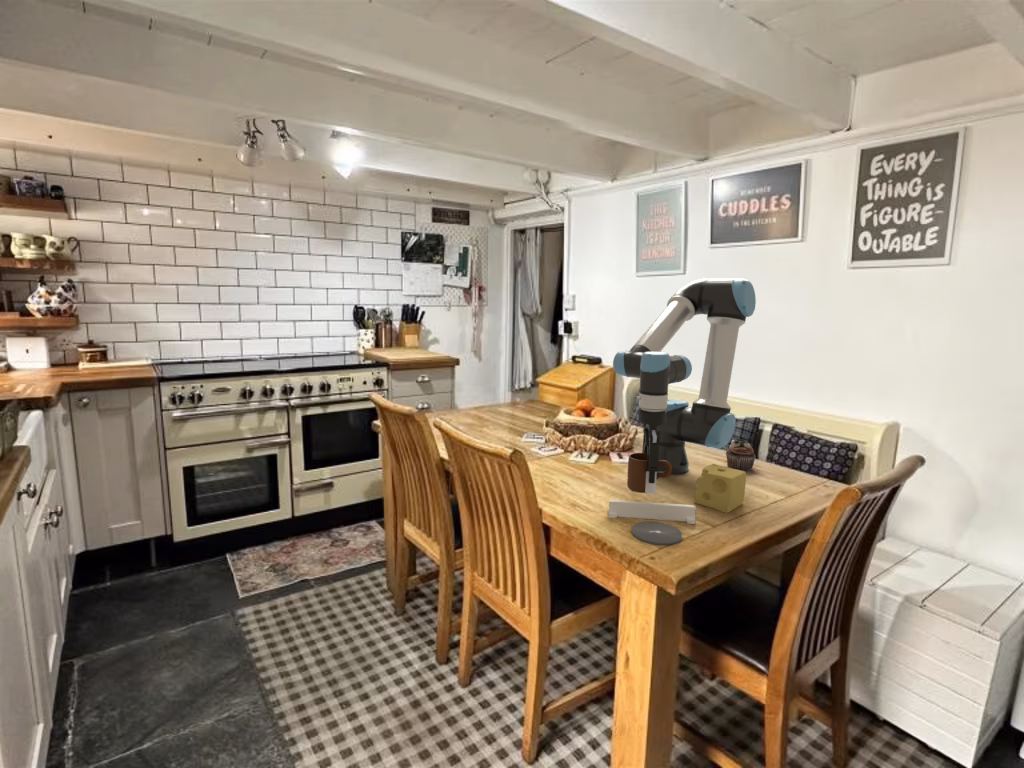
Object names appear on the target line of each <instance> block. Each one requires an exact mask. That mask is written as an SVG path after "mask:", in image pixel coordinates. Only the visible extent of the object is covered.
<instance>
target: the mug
mask: <svg viewBox="0 0 1024 768" xmlns="http://www.w3.org/2000/svg"><path fill="white" fill-rule="evenodd" d="M660 466H666V467H667V468H666V470H665V471H664V472H657V477H656V480H658V479H660V478H661V479H663V478H668V477H669V476H670V475H671V472H672V466H671V464H670V463H669V462H668V461H666V460H660V461H658V467H660ZM644 469H647V453H642V452H634V453H633V452H632V453H630V454H629V455H628V461H627V482H626V483H627V488H628V489H629V490H630V491H632V492H634V493H640V494H645V485H646V471H645V470H644Z"/></svg>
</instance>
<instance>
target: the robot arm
mask: <svg viewBox="0 0 1024 768" xmlns="http://www.w3.org/2000/svg"><path fill="white" fill-rule="evenodd" d="M756 300H757V299H756V292H755V288H754V286H753V283H752V282H751V281H750V280H748V279H745V278H736V277H733V278H701V279H697V280H693V281H691V282H690V283H687V284H685V285H684V286H682V287H681V288H680V289H678V290H677V291H676V292H675V293H674V294H673V295H671V297H670V298H669V299H668V301H667V304H666V308H665V309H664V310H663V311H662V312H661V313H660V314H659V316H658V317H657V318H656V319H655V320H654V321H653V322H652V324H651V325H650V326H649V327H648V329H647V330H646V331H645V332H644V333H643V334H642V336H641V337H639V339H638V340H637V341H636V342H635V344H634V345H633V346H632V347H631V348H630V350H629V351H628V350H621V351H618V352H616V353H615V355H614V358H613V361H612V368H613V371H614V373H616V375H618V376H623V377H626V378H633V379H639V395H637V396H636V400H638V407H639V409H638V410H637V411H638V412H637V415H638V416H637V421H638V422H639V423H640V424H643V430H642V433H643V437H642V448H641V450H642V452H641V453H647V469H644V470H645V471H646V485H645V493H644V494H648V495H649V494H651V495H655V494H656V493H657V492H656V491H657V479H656V477H657V472H664V471H665V470H666V468H667V467H666V466H660V467H658V461H660V460H666V461H668V462H669V463H670V464H671V466H672V472H671V474H675V475H676V474H683V473H686V472H687V473H688V471H689V467H690V466H689V465H690V464H689V459H688V456H687V455H688V454H687V450H686V448H685V447H686V443H689V444H694V445H699V446H703V447H706V448H713V449H722V448H724V447H725V446H727V445H728V444H729V442H730V441H731V439H732V437H733V434H734V432H735V429H736V416H735V415H734V414H732V413H731V408H732V407H731V405H729V403H728V398H729V397H728V395H729V389H730V384H731V380H732V379H731V378H732V374H733V373H732V372H733V366H734V360H735V354H736V348H737V341H738V335H739V331H740V327H742V326H743V325H745V324H746V320H747V319H746V318H750V317H751V316H753V314H754V313H755V309H756V302H757V301H756ZM698 315H707V316H706V320H707V321H708V322H709V324H710V328H709V333H708V337H707V344H706V352H705V358H704V363H703V369H702V377H701V382H700V388H699V392H698V393H699V395H698V397H697V398H696V399H694V400H693V402H692V407H691V406H689V405H690V404H689V401H687V400H684V399H683V400H679V399H678V400H677V399H673V400H668V397H669V393H668V391H669V390H668V389H669V385H671V384H676V383H680V382H683V381H685V380H687V379H688V378H689V377H690V376H691V374H692V370H693V367H692V366H693V365H692V362H691V361H690V359H689V358H688V357H686V356H684V355H682V354H679V355H677V354H675V355H670V354H669V352H665V351H663V350H664V348H665V347H666V346H667V344H668V343H669V342H670V341H671V339H672V338H674V336H675V335H676V333H677V332H678V331H679V330H680V328H681V327H682V326H684V324H685V322H688V321H690V320H691V319H693V318H694V316H698ZM671 474H670V475H671Z"/></svg>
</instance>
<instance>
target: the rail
mask: <svg viewBox="0 0 1024 768" xmlns="http://www.w3.org/2000/svg"><path fill="white" fill-rule="evenodd" d="M607 514H608V515H607V516H608V518H610V519H617V517H620V518H631V519H633V518H636V519H645V520H648V519H650V520H659V521H660V520H662V521H676V522H685V523H686V524H693V525H695V524H696V517H695V515H696V506H695V505H694V504H682V503H681V504H680V503H670V502H669V503H665V502H653V501H651V502H650V501H639V500H638V501H637V500H624V499H623V500H620V499H608V509H607Z"/></svg>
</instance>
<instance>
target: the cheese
mask: <svg viewBox="0 0 1024 768" xmlns="http://www.w3.org/2000/svg"><path fill="white" fill-rule="evenodd" d="M746 476H747V471H741V470H736V469H732V468H729V467H728V466H727V467H726V466H722V465H719V464H715V463H712V464H709V465H707V466H705V467H704V468H702V471H701V474H700V476H698V477H697V478H696V484H695V485H696V490H695V491H694V494H693V503H695V504H697V505H701V506H703V507H704V506H705V507H707V508H711V509H714V510H717V511H720V512H723V513H726V514H728V513H730V512H731V511H733V510H735V509H736V508H738V507H739V506H742V505H743V504H744V499H745V491H746V481H747V477H746Z"/></svg>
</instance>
